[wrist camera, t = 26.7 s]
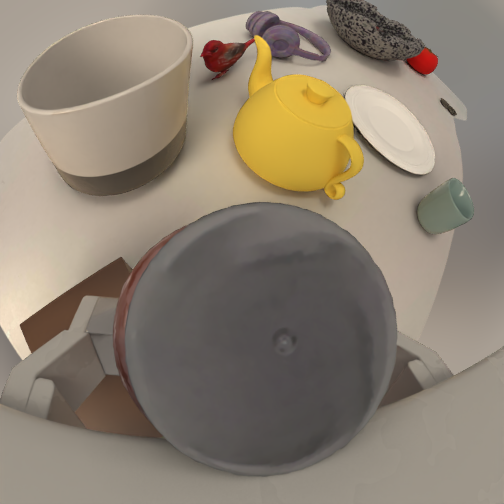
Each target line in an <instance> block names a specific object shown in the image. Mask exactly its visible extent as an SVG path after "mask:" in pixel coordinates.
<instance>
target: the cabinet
mask: <svg viewBox="0 0 504 504" xmlns="http://www.w3.org/2000/svg"><path fill="white" fill-rule="evenodd" d="M131 272H132V269H131V268H130V266H129V265H128V264H127V263H126V262H125V261H124V259H123V258H122V257H120V258H118V259H117V260H115V261H113V262H112V263H110V264H109V265H107V266H105V267H104V268H102V269H101V270H99V271H97V272H96V273H94V274H93V275H91V276H90V277H88V278H86V279H85V280H83V281H82V282H80V283H79V284H77V285H76V286H74V287H73V288H71V289H70V290H68V291H67V292H65V293H64V294H62V295H61V296H59V297H58V298H56V299H55V300H53V301H52V302H51V303H49V304H48V305H46V306H45V307H43V308H42V309H41V310H39V311H38V312H36V313H35V314H34V315H32V316H31V317H29V318H28V319H27V320H25V321H24V322H23V323H21V324H20V327H21V330H22V332H23V335H24V337H25V340H26V342H27V344H28V346H29V349H30V351H31V353H33V352H35V351H36V350H37V349H39V348H40V347H41V346H43V345H44V344H46V343H47V342H48V341H50V340H51V339H52V338H54V337H55V336H57V335H58V334H59V333H61V332H62V331H64V330H69V328H70V325H71V323H72V321H73V318H74V316H75V314H76V312H77V310H78V307H79V305H80V303H81V301H82V299H83V297H85V296H86V295H87V296H99V297H100V296H101V297H113V298H119V297H120V294H121V291H122V288H123V286H124V284H125V282H126V280H127V279H128V277H129V275H130V274H131ZM75 414H76V415H77V416H78V418H79V419H80V420H81V422H82V423H83V424H84V425H85V427H86V429H90V430H95V431H101V432H107V433H114V434H122V435H131V436H142V437H155V438H161V437H162V436H163V435H162V434H161V433H160V432H159V431H158V430H157V429H156V428H155V427H154V426H153V424H152V423H151V422H150V421H149V420H148V419H147V418H146V417H145V416H144V415H143V414H142V413H141V411H140V410H139V408H138V407H137V406H136V404H135V403H134V401H133V400H132V398H131V397H130V395H129V393H128V391H127V390H126V388H125V386H124V385H123V383H122V381H121V377H120V376H117V375H105V377H104V378H103V380H102V381H101V382H100V383H99V384H98V385H97V387H96V388H95V389H94V390H93V391H92V392H91V394H90V395H89V396H88V397H87V398H86V399H85V401H84V402H83V403H82V404H81V405H80V407H79V408H78V409H77V410H76V411H75Z"/></svg>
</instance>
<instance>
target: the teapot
mask: <svg viewBox="0 0 504 504" xmlns="http://www.w3.org/2000/svg"><path fill="white" fill-rule="evenodd" d="M254 40H255V43H256V46H257V53H258V54H257V60H256V63H255V66H254V68H253V70H252V73H251V75H250V78H249V82H248V91H249V96H250V98H249V99H248V100H247V101H246V102H245V104H244V105H243V106H242V108H241V109H240V111H239V113H238V115H237V117H236V120H235V123H234V127H233V137H234V142H235V145H236V148H237V151H238V153H239V155H240V156H241V158H242V159H243V161H244V162H245V163H246V164H247V165H248V167H249V168H250V169H252V170H253V171H254V172H255V173H256V174H257V175H259V176H260V177H261V178H263V179H265V180H266V181H268V182H270V183H272V184H274V185H276V186H279V187H282V188H284V189H288V190H293V191H315V190H319V189H322V188H324V190H325V193H326V194H327V196H328V197H330V198H331V199H334V200H338V199H341V198H342V197H343V196H344V194H345V188H344V186H343V185H342V184H341V183H340V182H342V181H345V180H347V179H350V178H352V177H353V176H355V175H356V174H358V173H359V172H360V170H361V169H362V167H363V163H364V157H363V153H362V150H361V148H360V146H359V144H358V143H357V142H356V141H355V140H354V132H353V119H352V114H351V110H350V107H349V105H348V104H347V102H346V100H345V99H344V98H343V97H342V95H341V94H340V93H339V92H337V91H336V90H335V89H334V88H333V87H331V86H330V85H329V84H328V83H326V82H324V81H322V80H319V79H316V78H313V77H310V76H306V75H287V76H284V77H281V78H279V79H276V80H274V81H273V79H272V75H271V63H272V55H271V50H270V47H269V45H268V44H267V42H266V41H265V40H264V39H263V38H261V37H260V36H257V35H256V36H254ZM350 158H351V166H350V168H349V169H348V170H347V171H345V172H343V171H344V170H345V168H346V166H347V164H348V162H349V159H350Z"/></svg>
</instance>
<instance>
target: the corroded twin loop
mask: <svg viewBox="0 0 504 504" xmlns="http://www.w3.org/2000/svg"><path fill="white" fill-rule="evenodd" d="M441 102H442V104H443V106H444V107H446V108H447V109H448V110H449V111H450V113H451V114H453V115H457V114H456V112H455V110H454V109H453V108H452V107H451V106H449V104H448V103H447V102H446V101H445V100H444V99H442V98H441Z"/></svg>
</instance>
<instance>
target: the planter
mask: <svg viewBox="0 0 504 504" xmlns="http://www.w3.org/2000/svg"><path fill="white" fill-rule="evenodd" d="M192 48H193V38H192V35H191V33H190V31H189V30H188V29H187V28H186V27H185V26H184V25H182V24H181V23H179V22H177V21H175V20H173V19H169V18H166V17H162V16H155V15H128V16H120V17H114V18H110V19H106V20H102V21H99V22H96V23H92V24H90V25H87V26H85V27H83V28H80V29H78V30H76V31H74V32H72V33H70V34H68V35H66V36H65V37H63V38H61V39H59V40H58V41H56V42H55V43H53V44H52V45H51V46H49V47H48V48H47V49H46V50H44V51H43V52H42V53H41V54H40V55H39V56H38V57H37V58H36V59H35V60H34V61H33V62H32V63H31V64H30V66H29V67H28V69H27V70H26V71H25V73H24V74H23V76H22V78H21V80H20V83H19V86H18V89H17V99H18V103H19V105H20V107H21V109H22V111H23V113H24V115H25V117H26V118H27V120H28V122H29V124H30V126H31V128H32V129H33V131H34V133H35V135H36V136H37V138H38V140H39V142H40V143H41V145H42V147H43V148H44V150H45V152H46V153H47V155H48V157H49V158H50V160H51V161H52V163H53V165H54V166H55V168H56V169H57V171H58V172H59V174H60V175H61V177H62V178H63V180H64V181H65V182H66V183H67V184H68V185H69V186H70V187H72V188H73V189H75V190H77V191H79V192H81V193H85V194H89V195H95V196H108V195H116V194H121V193H125V192H128V191H131V190H134V189H136V188H138V187H141V186H143V185H145V184H146V183H148V182H150V181H152V180H153V179H155V178H156V177H157V176H159V175H160V174H161V173H163V172H164V171H165V170H166V169H167V168H168V167H169V166H170V165H171V164H172V163H173V161H174V160H175V159H176V157H177V156H178V154H179V153H180V151H181V149H182V147H183V144H184V141H185V137H186V127H187V108H188V92H189V79H190V68H191V57H192Z"/></svg>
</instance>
